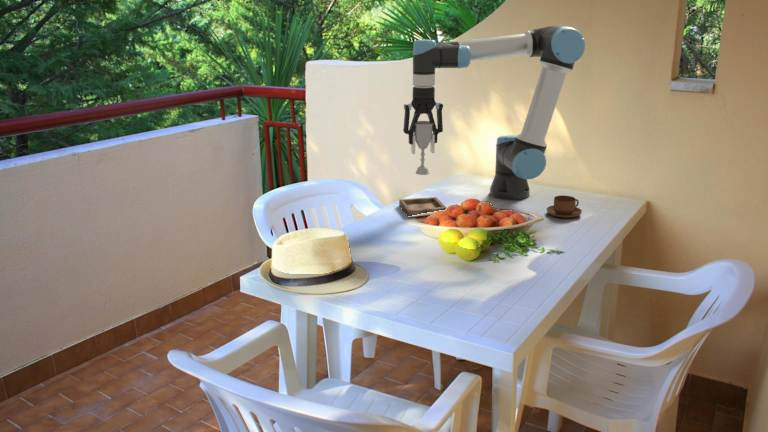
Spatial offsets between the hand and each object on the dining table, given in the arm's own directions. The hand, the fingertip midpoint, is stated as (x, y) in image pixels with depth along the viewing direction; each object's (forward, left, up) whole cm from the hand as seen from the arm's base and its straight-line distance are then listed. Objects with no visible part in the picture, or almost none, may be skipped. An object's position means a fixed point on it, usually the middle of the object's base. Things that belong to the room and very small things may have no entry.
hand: (422, 152), depth 242 cm
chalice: (0, 0, -8) cm, 8 cm away
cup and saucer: (-47, +16, -22) cm, 54 cm away
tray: (0, 0, -21) cm, 21 cm away
